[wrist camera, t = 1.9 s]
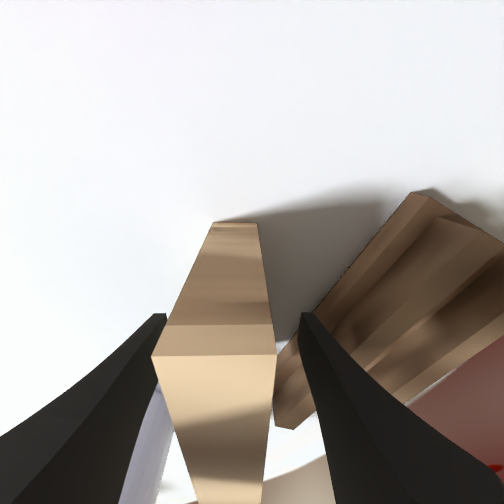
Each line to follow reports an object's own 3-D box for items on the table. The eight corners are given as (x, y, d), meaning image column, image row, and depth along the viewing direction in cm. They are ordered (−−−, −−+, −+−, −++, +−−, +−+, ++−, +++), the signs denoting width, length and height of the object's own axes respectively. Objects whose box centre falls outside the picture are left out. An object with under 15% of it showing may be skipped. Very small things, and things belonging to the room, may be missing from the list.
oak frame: (253, 345, 15) (259, 510, 8) (222, 345, 15) (201, 513, 8) (256, 222, 11) (277, 354, 4) (212, 222, 11) (151, 356, 4)
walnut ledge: (338, 403, 19) (354, 446, 17) (256, 381, 17) (258, 426, 15) (515, 256, 12) (595, 288, 9) (410, 192, 10) (473, 207, 8)
